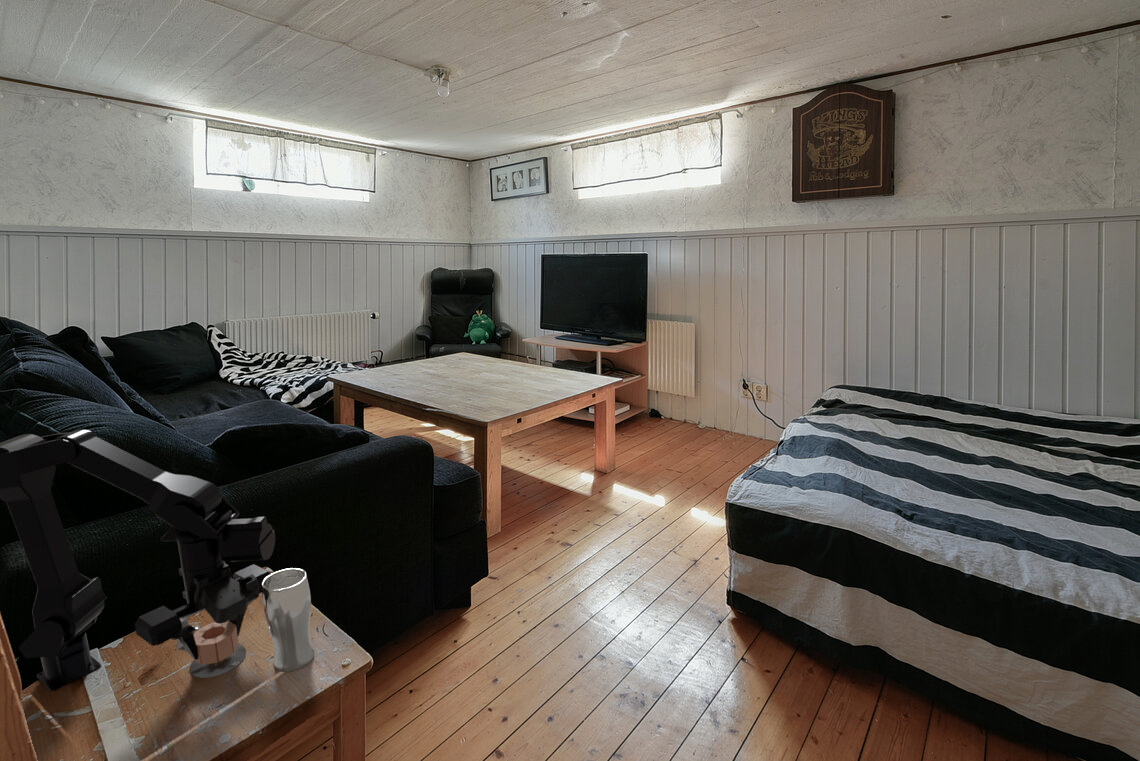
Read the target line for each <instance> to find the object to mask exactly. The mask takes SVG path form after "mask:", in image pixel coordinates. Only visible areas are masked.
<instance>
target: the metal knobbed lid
mask: <svg viewBox="0 0 1140 761" xmlns="http://www.w3.org/2000/svg"><path fill="white" fill-rule="evenodd" d="M192 627H194V628H195V631H194V633H195V632H196V631H197V630H198V629H200V628H202V625H201V624H196V625H193V626H192ZM194 633H193V634H194ZM176 648H177V649H179V650H180V651H181V650H183V651H187V650H186V649H185V647H184V646H183V645H182V644H181V642H180V641H179V640H178V639H177V641H176Z"/></svg>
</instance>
